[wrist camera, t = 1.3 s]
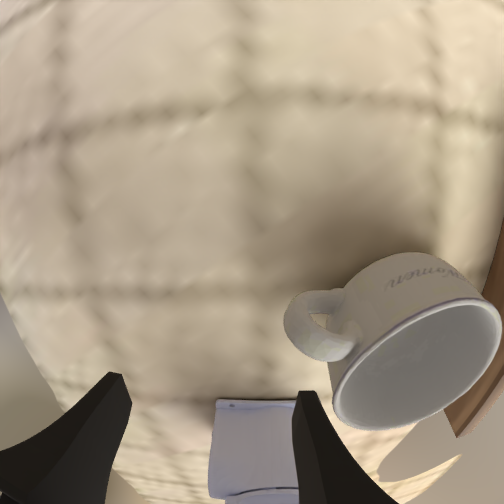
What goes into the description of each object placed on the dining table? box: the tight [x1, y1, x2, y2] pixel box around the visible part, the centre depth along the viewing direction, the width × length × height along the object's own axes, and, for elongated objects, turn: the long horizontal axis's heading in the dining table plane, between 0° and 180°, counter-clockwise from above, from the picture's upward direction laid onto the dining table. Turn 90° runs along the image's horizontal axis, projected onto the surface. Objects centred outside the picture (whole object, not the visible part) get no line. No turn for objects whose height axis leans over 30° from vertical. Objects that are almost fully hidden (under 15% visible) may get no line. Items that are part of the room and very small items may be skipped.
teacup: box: [284, 252, 502, 431], centre depth 16 cm, size 14×11×8 cm
